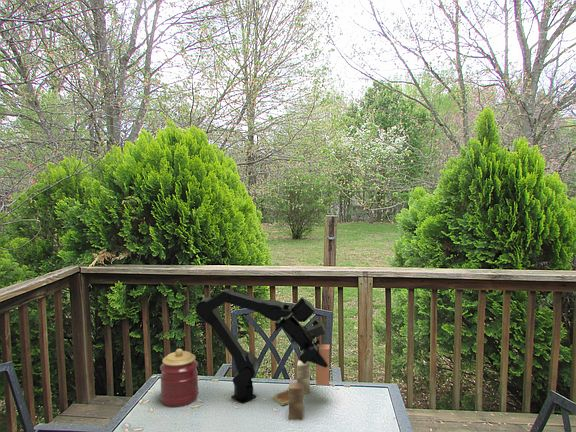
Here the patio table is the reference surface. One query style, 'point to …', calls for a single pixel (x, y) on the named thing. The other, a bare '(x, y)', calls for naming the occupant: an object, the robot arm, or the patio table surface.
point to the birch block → (304, 375)
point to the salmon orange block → (321, 371)
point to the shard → (282, 398)
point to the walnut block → (296, 401)
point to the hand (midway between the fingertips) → (326, 363)
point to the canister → (179, 379)
